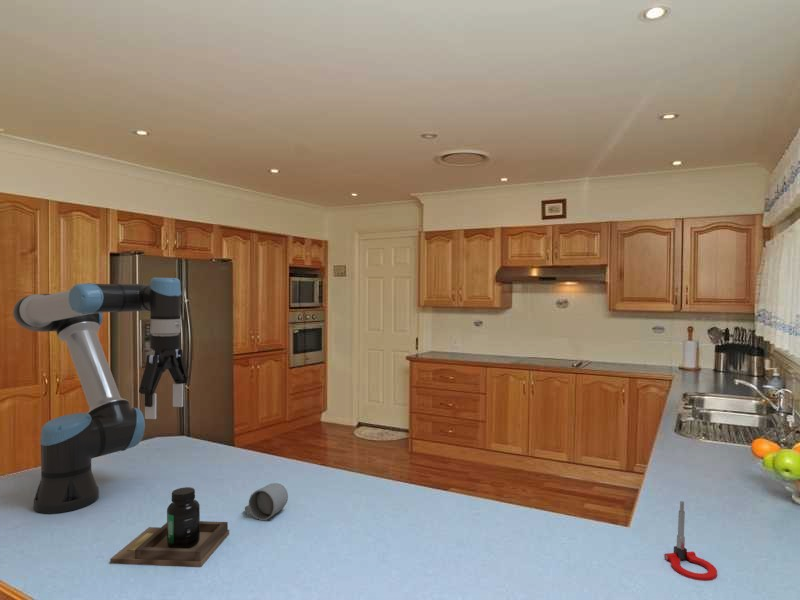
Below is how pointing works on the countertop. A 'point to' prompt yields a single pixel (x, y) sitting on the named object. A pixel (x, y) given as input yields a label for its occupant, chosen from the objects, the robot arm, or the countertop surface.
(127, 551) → the framed wooden board
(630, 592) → the countertop surface
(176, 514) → the supplement bottle
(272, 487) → the ceramic mug
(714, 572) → the tow hook
